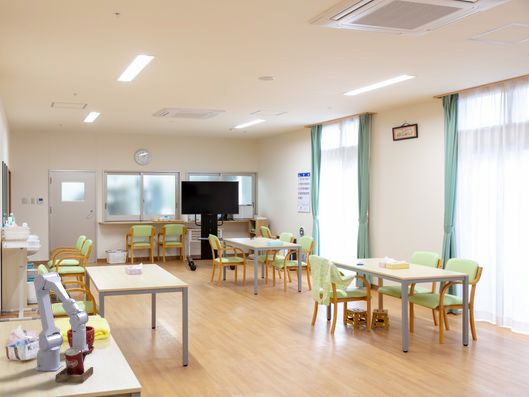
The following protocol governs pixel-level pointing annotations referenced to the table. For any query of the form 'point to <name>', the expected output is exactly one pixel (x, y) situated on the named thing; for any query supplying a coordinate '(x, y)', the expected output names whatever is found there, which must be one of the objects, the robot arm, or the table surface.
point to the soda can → (74, 361)
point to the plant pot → (89, 338)
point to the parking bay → (73, 376)
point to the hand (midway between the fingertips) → (79, 369)
